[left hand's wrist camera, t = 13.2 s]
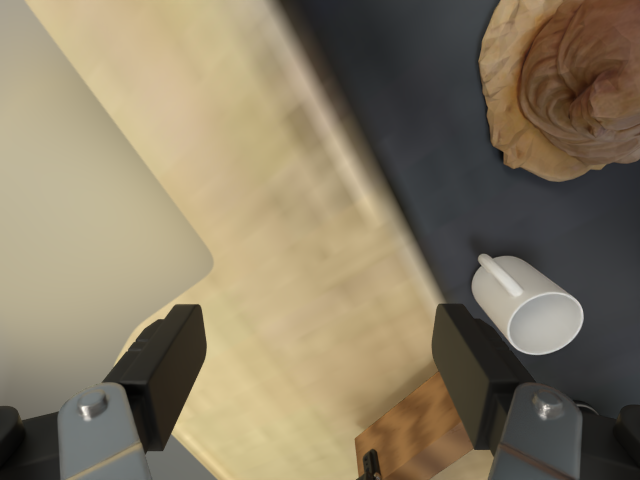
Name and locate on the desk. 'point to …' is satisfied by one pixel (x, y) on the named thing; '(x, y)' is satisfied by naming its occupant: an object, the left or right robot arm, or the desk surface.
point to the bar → (416, 435)
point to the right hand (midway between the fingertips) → (383, 461)
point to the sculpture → (563, 84)
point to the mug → (526, 305)
